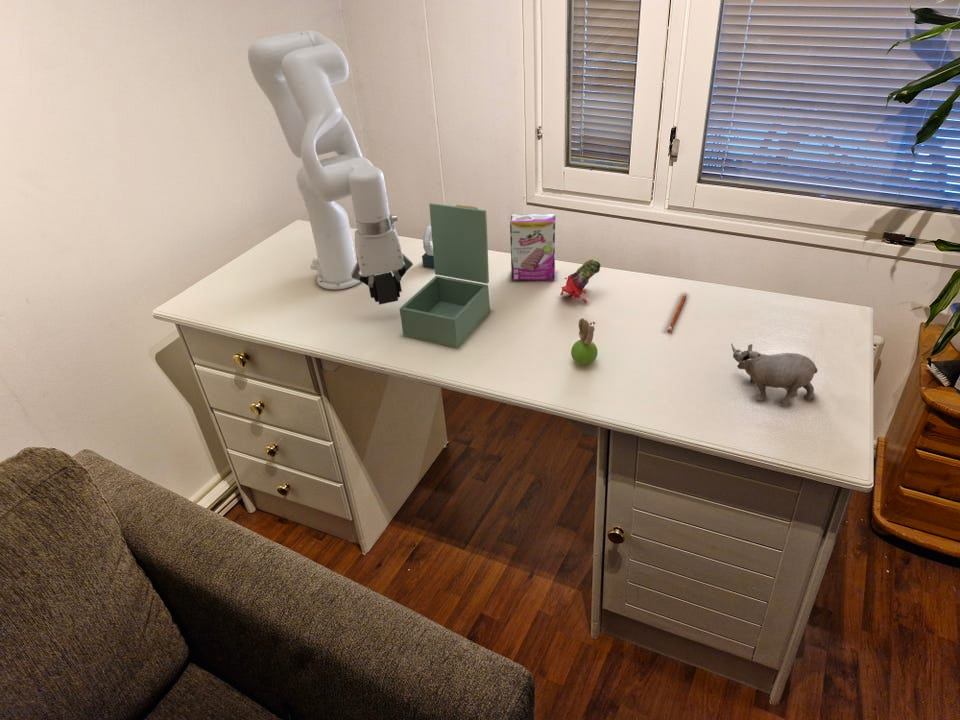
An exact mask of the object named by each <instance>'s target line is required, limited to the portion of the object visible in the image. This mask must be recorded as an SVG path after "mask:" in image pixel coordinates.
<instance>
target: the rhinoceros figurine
mask: <svg viewBox="0 0 960 720" xmlns="http://www.w3.org/2000/svg"><path fill="white" fill-rule="evenodd" d="M730 346H731V351H732V352H733V353H732V358H733V359H734V360H735V361H736V362H737V363H738V364H737V365H736V367H737V368H738V369H739V370H744V371H745V373H746V374H747V375H748V376H749V378H750V380H748V382H747V384H750V385H751V384H752V383H753V382H754V384H755V386H756V388H757V389H758V390H759V393H760V395H759V396H757V397H756V398H755V401H756V402H759V401H765V399H766V398H767V392H766V388H773V389H784V390H785V391H786V392H785V395H784V397H783V398H781V400H779V402H778V404H779V405H780V406H783V407H787V406H790V404H789V401H790V400H791V399H793V398H796V397H798V390H799V389H801V388H803V389H805V391H806V394H805V395H803V400H805V401H808V402H811V401H812V400H814V399H815V393H814V392H815V388H814V386H813V383H811V381H812V380H813V379H814V376H815V374H817V373H818V371H819V370H818V367H817V366H816V364H815V362H814V361H813V360H812V359H811V358H809V357H807V356H805V355H803V354H800V353H794V352H791V353H790V352H784V353H783V352H782V353H777V354H765V353H764V354H763V353H760V352H758V351H757V350H756V351H755V350H753V343H750V344H748V345H747V350H744V351H742V350H740V349H741V348H740V349H739V348H738V349H736V348H735V347H734V344H733V343H731V345H730Z"/></svg>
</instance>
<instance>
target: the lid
mask: <svg viewBox="0 0 960 720" xmlns="http://www.w3.org/2000/svg"><path fill="white" fill-rule="evenodd" d="M428 204H429V218H430V225H431V231H432V237H431V242H432V248H433V256H434V268H433V269H434V275H435V276H441V277H446V278H452V279H457V280H463V281H468V282H474V283H479V284H485V285H488V284H489V283H490V275H489V274H490V273H489V245H488V244H489V242H488V218H487V217H488V215H487V209H479V208H478V207H477V206H470V205H462V204H456V205H447V204H440V203H434V202H431V203H428Z"/></svg>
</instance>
